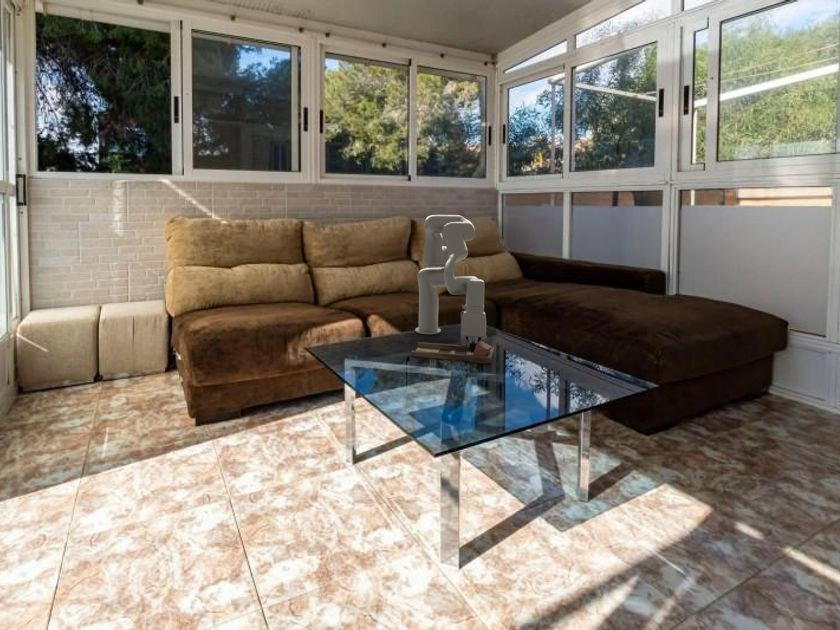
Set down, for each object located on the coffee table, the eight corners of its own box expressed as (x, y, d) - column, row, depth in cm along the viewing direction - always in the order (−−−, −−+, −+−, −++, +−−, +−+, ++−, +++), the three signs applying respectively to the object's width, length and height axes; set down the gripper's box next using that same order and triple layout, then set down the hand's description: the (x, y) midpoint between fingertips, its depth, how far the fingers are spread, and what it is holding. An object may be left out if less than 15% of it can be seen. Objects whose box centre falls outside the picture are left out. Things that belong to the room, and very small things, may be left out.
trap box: (418, 347, 247) (418, 342, 246) (493, 353, 240) (494, 347, 240) (411, 357, 232) (411, 351, 232) (490, 363, 226) (491, 357, 225)
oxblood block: (477, 351, 235) (481, 341, 233) (487, 356, 233) (491, 346, 231) (472, 354, 231) (476, 343, 229) (482, 359, 229) (487, 349, 227)
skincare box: (472, 348, 248) (473, 313, 245) (458, 345, 252) (459, 311, 249) (481, 343, 255) (482, 310, 252) (467, 341, 259) (468, 308, 255)
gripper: (455, 309, 228) (454, 352, 232) (492, 311, 225) (490, 355, 229) (458, 306, 235) (456, 348, 239) (493, 308, 232) (491, 350, 236)
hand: (473, 351), depth 234 cm, fingers closed
